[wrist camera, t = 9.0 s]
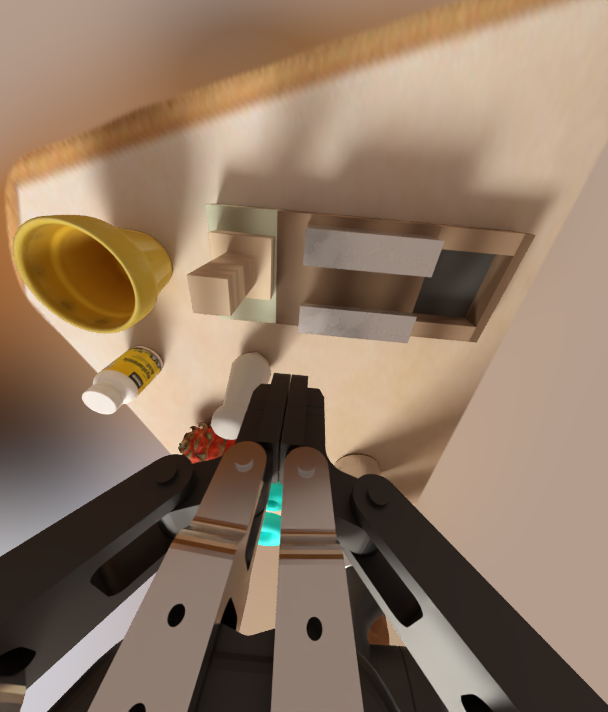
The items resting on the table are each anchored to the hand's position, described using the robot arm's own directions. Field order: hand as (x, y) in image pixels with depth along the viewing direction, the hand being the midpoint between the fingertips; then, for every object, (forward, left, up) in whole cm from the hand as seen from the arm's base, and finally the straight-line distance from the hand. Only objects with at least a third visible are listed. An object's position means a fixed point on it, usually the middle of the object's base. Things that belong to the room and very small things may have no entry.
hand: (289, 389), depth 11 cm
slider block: (+5, +5, -19) cm, 20 cm away
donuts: (-37, +36, -22) cm, 56 cm away
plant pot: (+12, +16, -22) cm, 30 cm away
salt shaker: (-7, +15, -22) cm, 27 cm away
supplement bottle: (+3, +29, -22) cm, 36 cm away
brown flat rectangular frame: (-4, -4, -22) cm, 22 cm away
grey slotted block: (-4, -4, -19) cm, 20 cm away
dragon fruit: (-15, +31, -22) cm, 41 cm away
